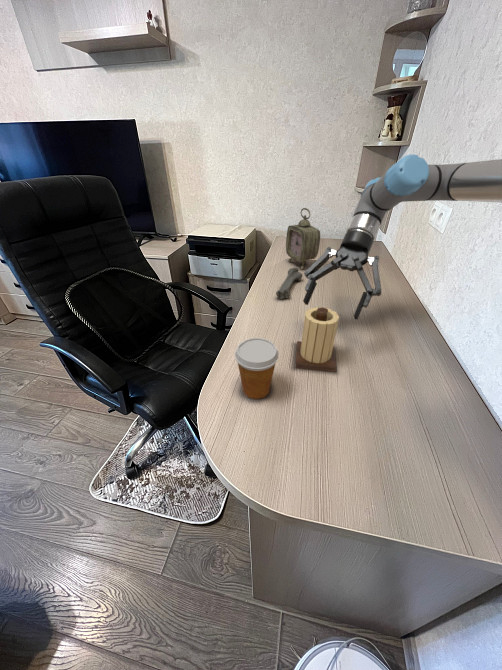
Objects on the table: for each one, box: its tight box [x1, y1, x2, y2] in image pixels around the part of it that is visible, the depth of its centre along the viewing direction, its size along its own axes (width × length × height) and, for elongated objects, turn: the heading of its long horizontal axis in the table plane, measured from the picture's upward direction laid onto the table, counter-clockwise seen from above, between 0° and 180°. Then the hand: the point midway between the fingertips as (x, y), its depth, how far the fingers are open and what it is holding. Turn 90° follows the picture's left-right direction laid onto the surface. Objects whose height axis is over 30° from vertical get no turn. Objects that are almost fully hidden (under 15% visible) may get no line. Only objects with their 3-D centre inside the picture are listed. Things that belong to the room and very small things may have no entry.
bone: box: [275, 267, 303, 300], centre depth 109 cm, size 22×6×6 cm, turn 159°
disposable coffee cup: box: [234, 337, 280, 400], centre depth 62 cm, size 10×10×12 cm
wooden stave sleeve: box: [300, 306, 340, 363], centre depth 71 cm, size 8×8×12 cm
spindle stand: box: [295, 306, 337, 373], centre depth 71 cm, size 10×10×15 cm
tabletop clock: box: [285, 207, 321, 270], centre depth 125 cm, size 14×9×25 cm, turn 25°
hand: (329, 310), depth 72 cm, fingers open, 13 cm apart
